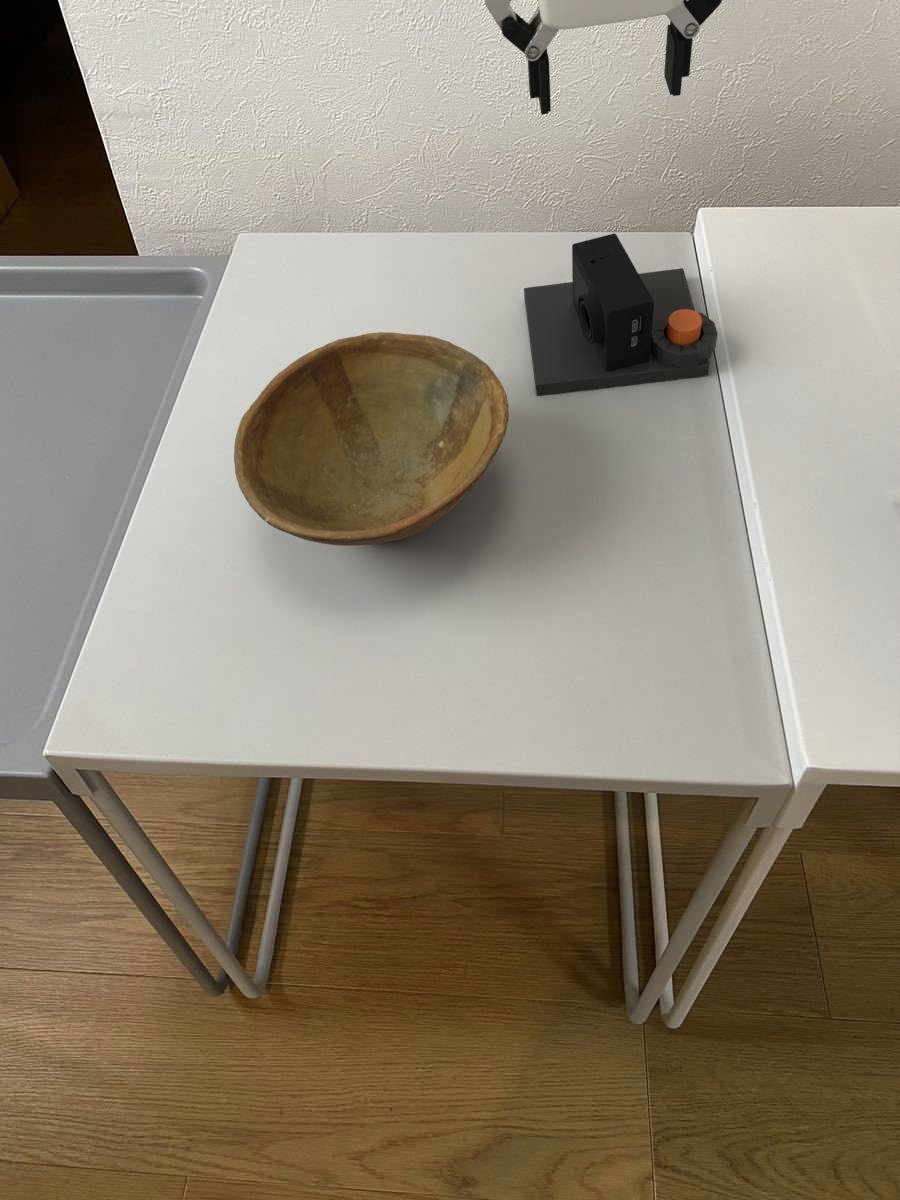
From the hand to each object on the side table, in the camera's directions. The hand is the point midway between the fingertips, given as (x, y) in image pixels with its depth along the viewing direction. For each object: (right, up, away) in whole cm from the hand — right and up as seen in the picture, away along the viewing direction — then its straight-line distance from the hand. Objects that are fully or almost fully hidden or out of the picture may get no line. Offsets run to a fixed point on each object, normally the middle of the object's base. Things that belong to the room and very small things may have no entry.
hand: (607, 95), depth 70 cm
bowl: (-17, -30, +13) cm, 36 cm away
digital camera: (+3, -13, +19) cm, 23 cm away
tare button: (+10, -14, +16) cm, 23 cm away
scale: (+4, -12, +21) cm, 24 cm away
